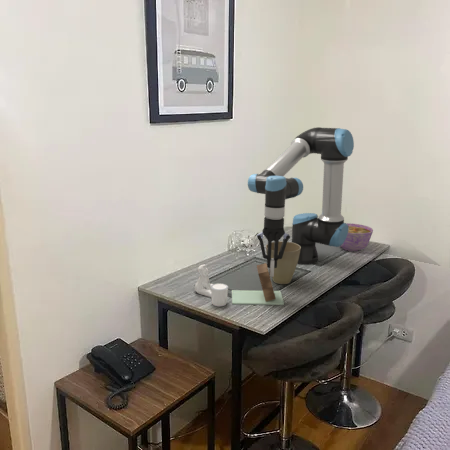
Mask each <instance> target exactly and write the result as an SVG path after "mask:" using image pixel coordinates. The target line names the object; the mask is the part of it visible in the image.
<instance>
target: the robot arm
mask: <svg viewBox="0 0 450 450" xmlns="http://www.w3.org/2000/svg"><path fill="white" fill-rule="evenodd" d="M354 147H355V141H354V137H353V134H352V133H351V131H350V130H348V129H346V128H340V127H339V128H338V127H337V128H336V127H313V128H310V129H307V130H305V131H303V132H302V133H299V134H298V135H297V136H296V137H295V138H294V139H293V140H291V142H290V145H289V146H288V147H287V148H286V149H285V150H284V151H283V152H282V153H281V154H280V155H278V157H276V159H275V160H273V161H272V162H271V163H270V164H269V165H268V166H267V167H266V168H265V169H264V170H262V172H261V173H260V174H259V173H253V174H251V175H249V177H248V180H247V187H248V190H249V191H250V192H252V193H256V194H261V195H264V198H265V199H264V201H265V202H264V219H263V220H264V221H263V229H262V230H261V232H259V233H257V234H256V237H257V240H258V241H259V245H260V250H261V253H262V258H263V259H264V260H266V264H267V268H268V271H269V275H270V278H272V277H274V268H277V260H278V259H282V257H283V254H284V250H285V247H286V244H287V242H289V240H290V239H291V242H292V243H296V244H298V245H300V247H301V250H300V255H299V259H298V263H297V265H314V264H316V263H318V261H319V255H318V254H319V253H318V249H317V246H316V244H320V245H325V246H329V247H334V248H335V247H336V248H338V247H340V246H341V245H342V244H343V243H344V241H345V239H346V237H347V234H348V224H346V223H347V222H345V217H344V216H343V215H342V201H343V184H344V168H345V166H344V165H345V163H346V162H347V161H348V157H350V156H351V155H352V154H353V152H354V151H353V150H354ZM311 154H317V155H318V154H319V155H320V160H321V161H322V162H323V180H322V181H323V184H322V208H321V214H320V215H318V214H317V213H314V212H313V213H312V212H304V213H299V214H298V213H297V214H295V215H294V216H293V218H292V225H291V226H292V227H291V236H290V234H289V233H286V231H285V229H284V225H285V218H284V217H285V211H286V208H285V205H286V200H288V199H293V198H296V197H298V196H301V194H302V193H303V191H304V184H303V182H302V180H301V179H300V178H299V177H290V178H288V177H286V175H287V173H289V172H290V171H291V170H292V169H293V168H294V167H295V166H296V164H298V163H299V162H300V160H302V159H304V158H306V157H308V156H309V155H311ZM264 237H265V239H266V240H267V244H268V249H267V253H266V247H265V245H264ZM282 237H283V239H282ZM281 239H282V241H283V242H282V245H281V248H280V251H279V255H278V243H279V241H280V240H281ZM272 242H274V259H271V246H272Z"/></svg>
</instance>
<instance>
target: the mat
mask: <svg viewBox="0 0 450 450" xmlns="http://www.w3.org/2000/svg"><path fill="white" fill-rule="evenodd" d="M273 291H274V294H275V298H276V299H274V300H270V301H265V297H264V293H263V290H243V289H242V290H239V289H236V290H235V289H234V290H233V289H232V290H231V304H232V305H245V306H246V305H247V306H248V305H251V306H252V305H254V306H255V305H259V306H262V305H265V306H266V305H267V306H268V305H269V306H271V305H272V306H278V305H279V306H284V305H285V303H284V302H285V301H284V299H283V295H282V292H281V290H273Z"/></svg>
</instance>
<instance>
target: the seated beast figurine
mask: <svg viewBox="0 0 450 450" xmlns="http://www.w3.org/2000/svg"><path fill="white" fill-rule="evenodd" d="M197 271H198V273H199V276H198V280H197V281H196V282H195V284H194V290H195V292H196V293H197V294H199V295H201V296H205V297H207V298H212V297H211V285H213V284H214V283H211V282H210V279H209V275H210V272H209V269H208V268H207V265H206V264H201V265H199V266H198V268H197Z"/></svg>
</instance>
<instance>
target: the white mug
mask: <svg viewBox="0 0 450 450" xmlns="http://www.w3.org/2000/svg"><path fill="white" fill-rule="evenodd" d="M212 284H213V285H211V297H210V298H211V303H212V305H213V306H215V307H224V306H226V305H227V302H228V293H229V285H227V284H225V283H223V282H222V283H220V282H219V283H212Z"/></svg>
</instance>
